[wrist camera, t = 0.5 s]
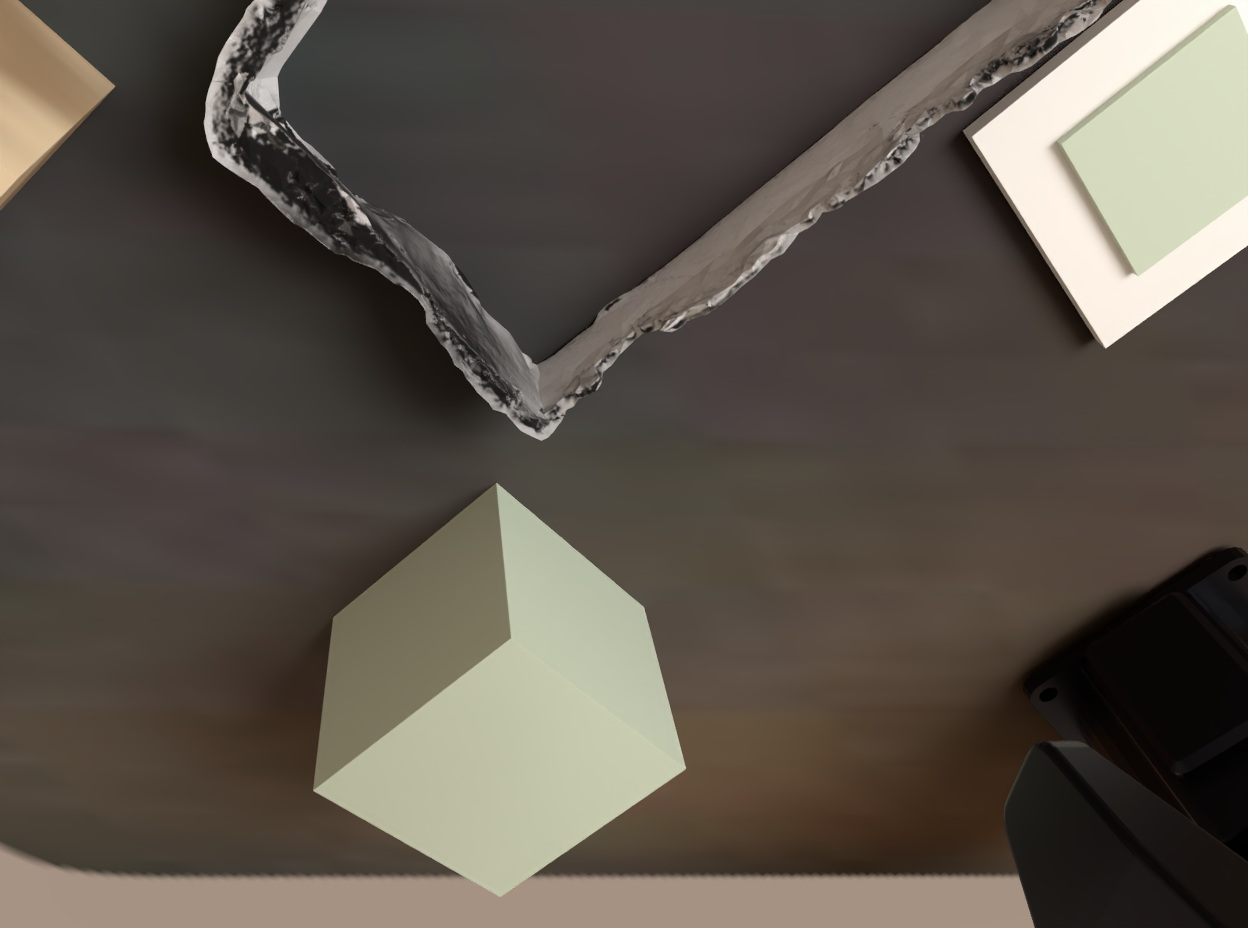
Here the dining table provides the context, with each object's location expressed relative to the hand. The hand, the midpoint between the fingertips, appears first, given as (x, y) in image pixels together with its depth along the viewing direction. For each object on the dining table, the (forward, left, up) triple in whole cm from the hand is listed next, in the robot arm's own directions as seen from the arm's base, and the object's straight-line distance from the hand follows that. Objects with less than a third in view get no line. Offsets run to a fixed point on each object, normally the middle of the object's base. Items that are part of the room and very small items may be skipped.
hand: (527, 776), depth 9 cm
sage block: (-7, +6, -13) cm, 16 cm away
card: (-8, -11, -13) cm, 19 cm away
